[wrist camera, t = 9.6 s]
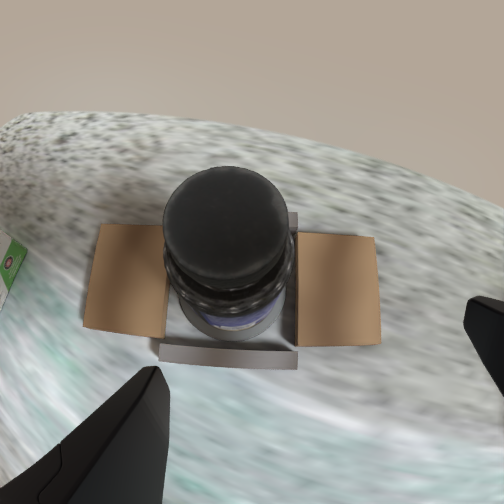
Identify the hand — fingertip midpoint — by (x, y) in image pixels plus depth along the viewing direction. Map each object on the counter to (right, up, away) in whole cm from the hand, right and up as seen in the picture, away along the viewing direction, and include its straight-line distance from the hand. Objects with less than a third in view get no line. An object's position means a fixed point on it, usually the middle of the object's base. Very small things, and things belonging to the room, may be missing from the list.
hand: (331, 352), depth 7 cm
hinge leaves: (-3, 0, +14) cm, 15 cm away
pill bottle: (-3, 0, +14) cm, 14 cm away
